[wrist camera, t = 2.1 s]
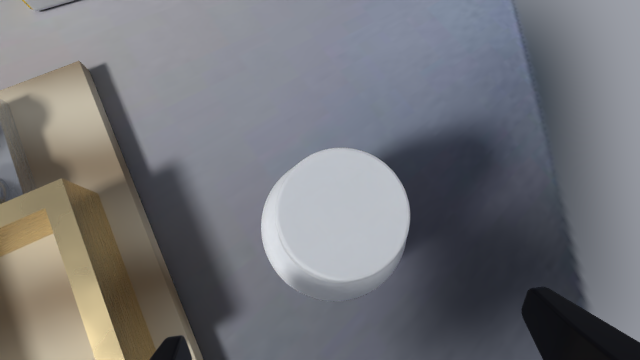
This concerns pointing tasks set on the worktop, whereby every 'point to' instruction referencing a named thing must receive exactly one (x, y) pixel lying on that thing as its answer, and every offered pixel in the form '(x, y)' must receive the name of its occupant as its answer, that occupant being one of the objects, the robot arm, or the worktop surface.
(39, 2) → the medicine bottle
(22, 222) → the bottle holder fixture
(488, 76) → the worktop surface
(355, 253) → the supplement bottle
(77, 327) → the board
